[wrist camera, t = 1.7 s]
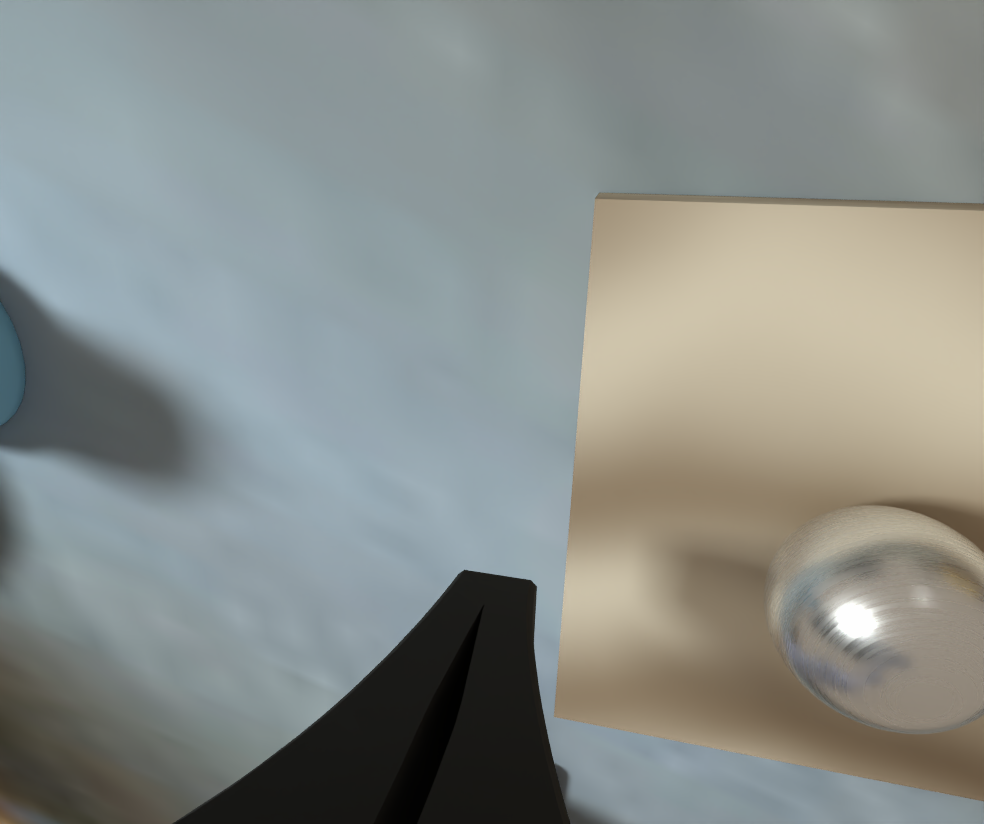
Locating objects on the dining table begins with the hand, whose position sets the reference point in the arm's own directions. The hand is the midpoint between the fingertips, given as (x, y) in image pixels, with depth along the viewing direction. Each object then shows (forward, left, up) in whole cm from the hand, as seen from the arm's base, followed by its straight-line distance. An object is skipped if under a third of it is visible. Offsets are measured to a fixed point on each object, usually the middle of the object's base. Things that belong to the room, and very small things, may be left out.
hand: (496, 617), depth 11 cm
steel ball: (0, -7, -2) cm, 7 cm away
